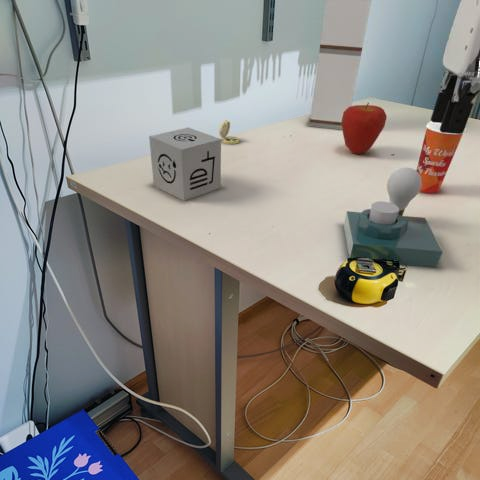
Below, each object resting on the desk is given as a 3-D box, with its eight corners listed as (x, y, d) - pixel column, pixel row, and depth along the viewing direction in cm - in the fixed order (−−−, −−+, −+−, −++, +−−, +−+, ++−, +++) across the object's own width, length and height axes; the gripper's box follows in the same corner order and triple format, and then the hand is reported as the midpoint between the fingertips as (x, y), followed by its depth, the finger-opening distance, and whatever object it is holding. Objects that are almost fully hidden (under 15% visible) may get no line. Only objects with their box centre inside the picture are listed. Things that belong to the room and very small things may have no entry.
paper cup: (405, 190, 93) (425, 122, 84) (410, 179, 98) (430, 114, 89) (442, 198, 90) (467, 129, 81) (445, 186, 96) (469, 120, 87)
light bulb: (405, 230, 78) (422, 177, 72) (374, 222, 80) (388, 169, 74) (412, 218, 82) (429, 167, 76) (382, 210, 84) (396, 160, 78)
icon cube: (220, 188, 90) (221, 139, 83) (183, 200, 84) (181, 149, 78) (190, 174, 95) (188, 127, 89) (153, 185, 89) (149, 136, 83)
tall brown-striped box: (347, 121, 135) (374, -19, 113) (346, 130, 127) (375, -18, 105) (312, 117, 137) (331, -21, 115) (309, 126, 129) (329, -21, 107)
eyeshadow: (234, 145, 112) (234, 125, 109) (218, 141, 114) (218, 122, 111) (242, 140, 115) (243, 121, 112) (226, 137, 117) (226, 118, 114)
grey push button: (392, 215, 72) (396, 202, 71) (397, 227, 69) (401, 214, 67) (366, 213, 72) (370, 200, 71) (370, 225, 69) (373, 211, 68)
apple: (357, 143, 118) (367, 95, 110) (386, 155, 111) (399, 105, 103) (327, 149, 113) (335, 99, 105) (356, 161, 106) (367, 109, 98)
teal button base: (420, 232, 78) (428, 207, 74) (436, 267, 68) (447, 240, 65) (343, 226, 78) (349, 200, 75) (349, 259, 69) (355, 232, 66)
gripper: (565, -32, 44) (491, 147, 56) (504, -31, 57) (455, 114, 69) (491, -36, 45) (433, 143, 56) (448, -34, 58) (408, 111, 69)
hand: (446, 125), depth 62 cm, fingers open, 4 cm apart
